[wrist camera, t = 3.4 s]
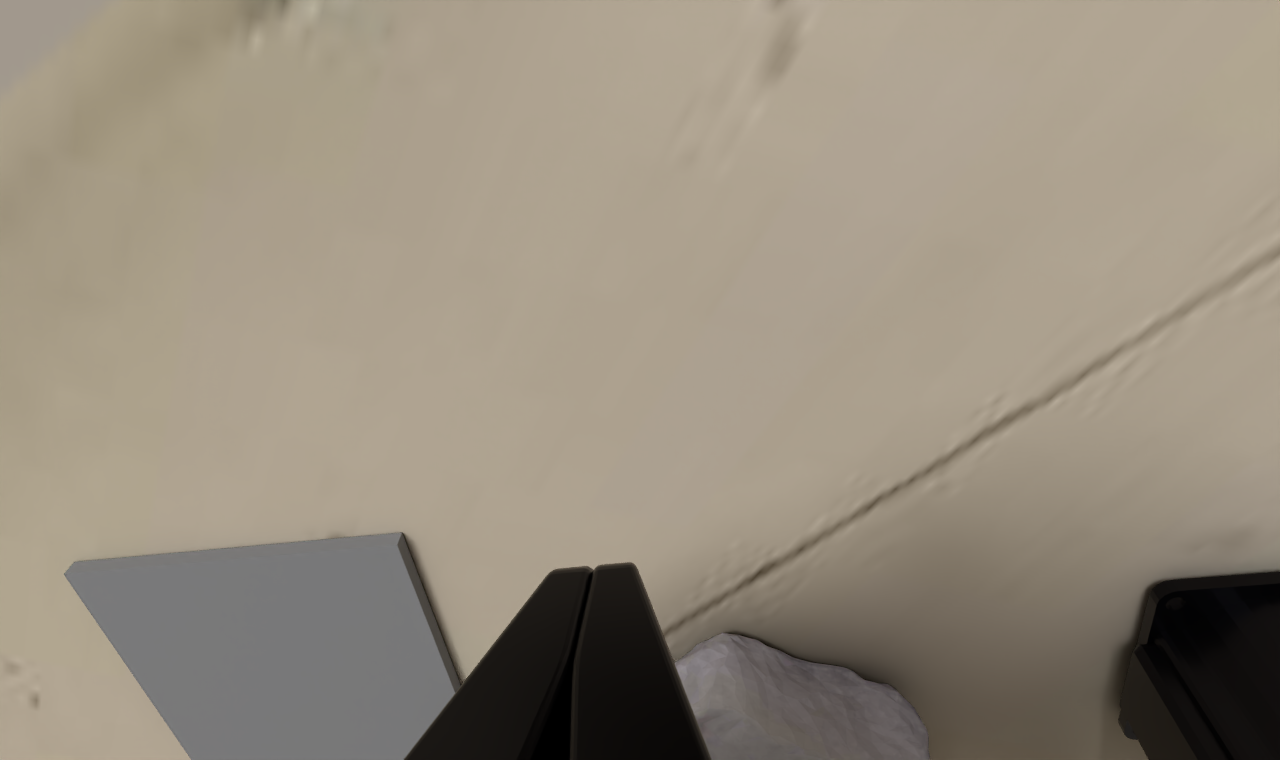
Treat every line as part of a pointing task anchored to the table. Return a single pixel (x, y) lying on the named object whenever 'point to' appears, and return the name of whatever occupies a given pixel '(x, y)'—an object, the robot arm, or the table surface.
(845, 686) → the stone block
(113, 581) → the mat
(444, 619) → the table surface
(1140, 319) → the table surface
